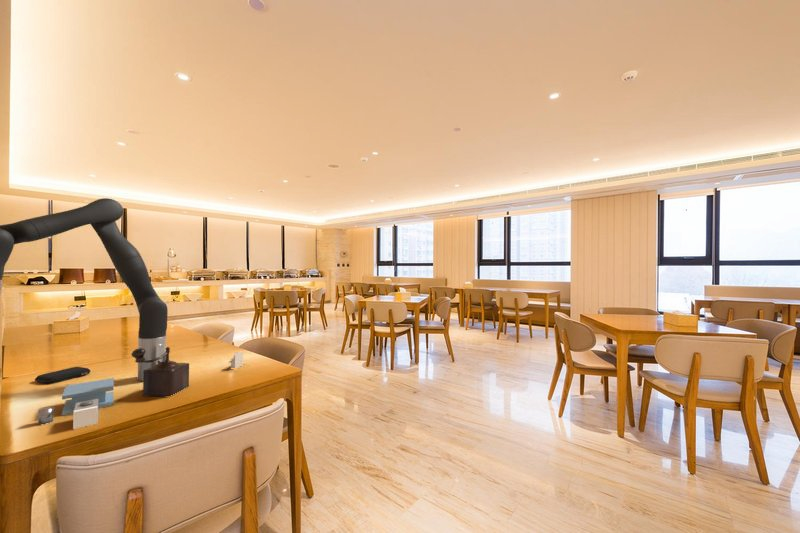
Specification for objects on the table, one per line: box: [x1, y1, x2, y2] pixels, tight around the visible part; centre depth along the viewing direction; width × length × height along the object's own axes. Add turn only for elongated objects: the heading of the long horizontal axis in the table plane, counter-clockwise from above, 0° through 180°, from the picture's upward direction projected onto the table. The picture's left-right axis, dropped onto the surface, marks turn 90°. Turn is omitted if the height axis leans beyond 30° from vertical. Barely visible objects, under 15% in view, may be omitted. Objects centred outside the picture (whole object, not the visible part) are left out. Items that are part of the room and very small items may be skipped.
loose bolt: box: [37, 406, 54, 425], centre depth 96 cm, size 3×3×4 cm
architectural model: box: [228, 350, 244, 369], centre depth 151 cm, size 3×7×7 cm, turn 172°
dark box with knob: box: [131, 346, 190, 398], centre depth 118 cm, size 16×11×18 cm
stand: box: [61, 377, 115, 416], centre depth 109 cm, size 12×12×6 cm
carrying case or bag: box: [34, 366, 91, 385], centre depth 133 cm, size 11×3×15 cm
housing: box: [72, 399, 99, 430], centre depth 97 cm, size 8×5×6 cm, turn 41°
